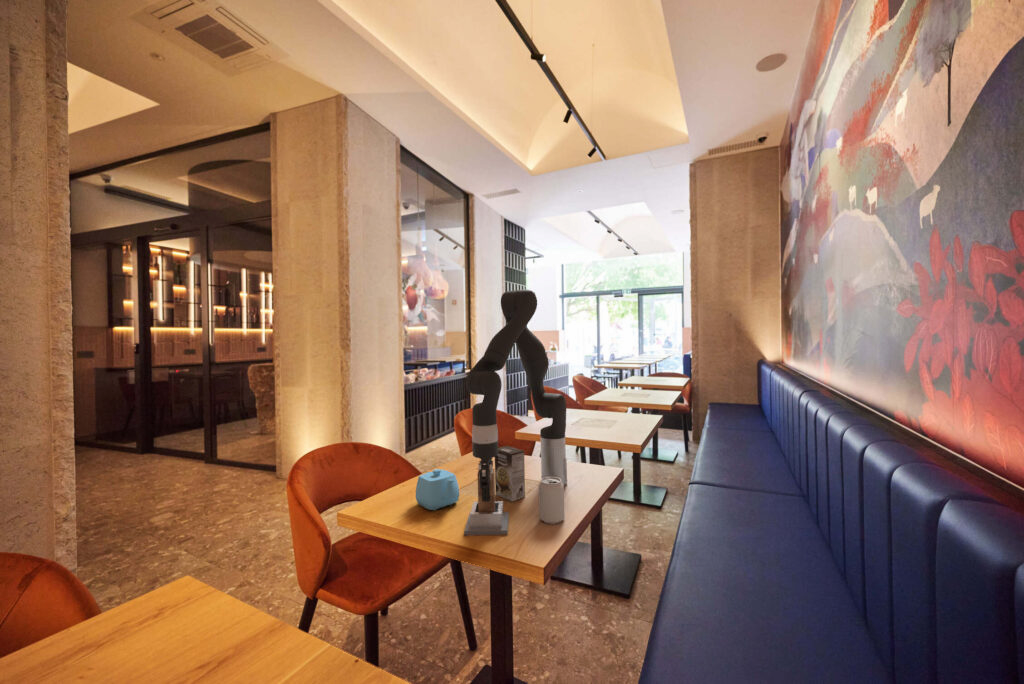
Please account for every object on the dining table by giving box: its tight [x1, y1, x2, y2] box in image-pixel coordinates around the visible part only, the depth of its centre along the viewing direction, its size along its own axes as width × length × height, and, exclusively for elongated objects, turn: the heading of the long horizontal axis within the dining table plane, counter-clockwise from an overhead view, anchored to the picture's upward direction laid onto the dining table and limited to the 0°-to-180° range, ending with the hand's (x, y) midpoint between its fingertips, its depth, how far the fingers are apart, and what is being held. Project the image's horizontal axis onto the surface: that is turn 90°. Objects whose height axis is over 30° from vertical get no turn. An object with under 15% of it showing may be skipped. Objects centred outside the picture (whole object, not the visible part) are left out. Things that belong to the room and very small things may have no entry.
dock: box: [463, 500, 510, 536], centre depth 120 cm, size 12×12×5 cm
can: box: [538, 477, 566, 525], centre depth 123 cm, size 8×8×12 cm
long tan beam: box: [477, 468, 496, 512], centre depth 120 cm, size 4×4×12 cm
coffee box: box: [494, 445, 526, 502], centre depth 142 cm, size 9×6×16 cm
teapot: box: [415, 468, 460, 511], centre depth 135 cm, size 12×18×12 cm
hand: (486, 497), depth 120 cm, fingers closed on long tan beam, 4 cm apart
